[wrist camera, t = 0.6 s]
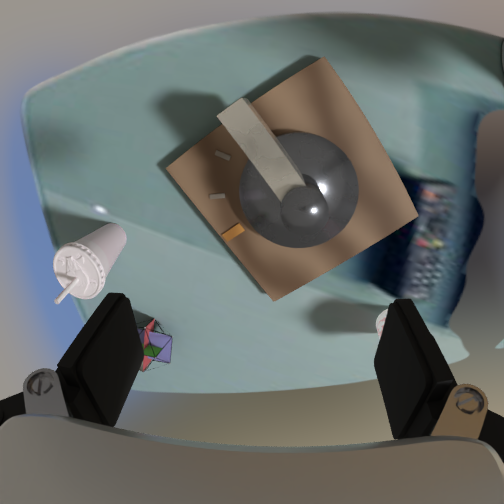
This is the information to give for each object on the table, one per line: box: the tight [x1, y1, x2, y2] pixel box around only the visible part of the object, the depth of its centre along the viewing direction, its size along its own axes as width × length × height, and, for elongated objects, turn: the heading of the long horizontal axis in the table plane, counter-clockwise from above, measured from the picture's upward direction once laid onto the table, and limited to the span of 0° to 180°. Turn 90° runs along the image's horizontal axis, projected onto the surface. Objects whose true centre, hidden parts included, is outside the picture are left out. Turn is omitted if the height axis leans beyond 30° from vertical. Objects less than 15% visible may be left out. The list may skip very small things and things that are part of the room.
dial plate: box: [166, 57, 418, 301], centre depth 33 cm, size 20×20×2 cm
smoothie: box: [53, 223, 127, 304], centre depth 32 cm, size 6×6×14 cm
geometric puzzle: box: [137, 318, 173, 372], centre depth 42 cm, size 7×7×8 cm
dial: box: [217, 98, 359, 248], centre depth 29 cm, size 16×12×7 cm
